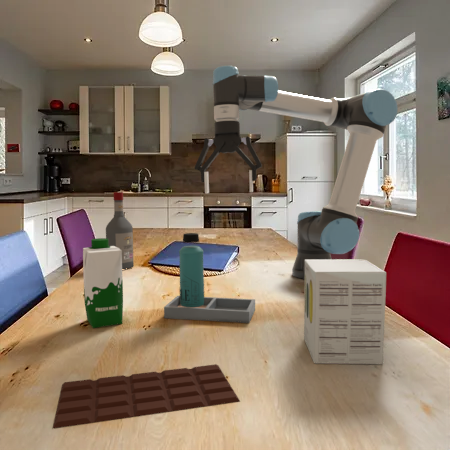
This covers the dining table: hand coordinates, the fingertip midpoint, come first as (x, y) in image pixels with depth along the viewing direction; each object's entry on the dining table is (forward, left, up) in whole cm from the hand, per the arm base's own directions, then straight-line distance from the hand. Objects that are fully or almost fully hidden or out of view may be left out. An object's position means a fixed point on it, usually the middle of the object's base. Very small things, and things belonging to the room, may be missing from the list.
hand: (229, 192), depth 131 cm
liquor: (+49, -28, -31) cm, 65 cm away
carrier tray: (0, +24, -30) cm, 38 cm away
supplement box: (-31, +43, -31) cm, 61 cm away
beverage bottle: (+5, +23, -30) cm, 38 cm away
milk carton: (+24, +35, -31) cm, 52 cm away
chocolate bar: (+1, +66, -31) cm, 73 cm away
